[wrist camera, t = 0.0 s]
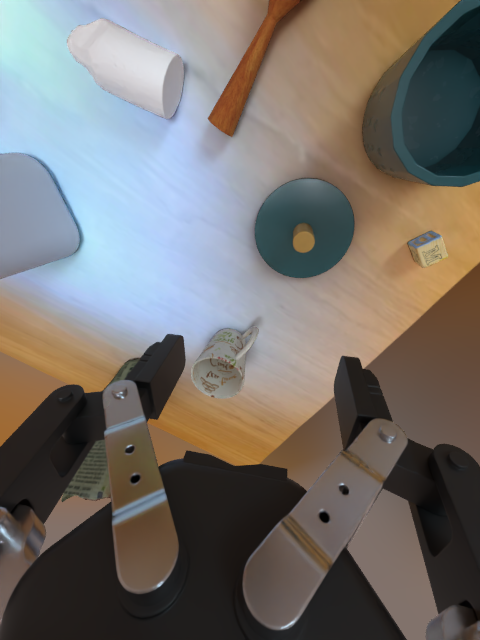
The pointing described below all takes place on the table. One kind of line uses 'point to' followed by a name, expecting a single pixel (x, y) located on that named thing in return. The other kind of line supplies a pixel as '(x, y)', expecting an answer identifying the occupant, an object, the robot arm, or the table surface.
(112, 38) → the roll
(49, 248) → the plastic bottle
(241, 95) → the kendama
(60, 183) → the table surface
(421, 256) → the alphabet block
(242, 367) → the mug
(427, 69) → the container
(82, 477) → the pouch
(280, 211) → the teal pot lid
